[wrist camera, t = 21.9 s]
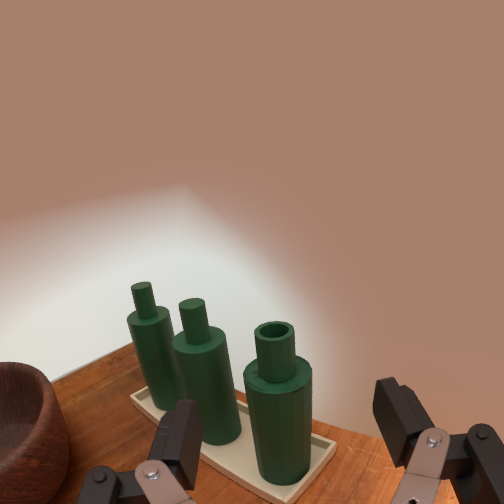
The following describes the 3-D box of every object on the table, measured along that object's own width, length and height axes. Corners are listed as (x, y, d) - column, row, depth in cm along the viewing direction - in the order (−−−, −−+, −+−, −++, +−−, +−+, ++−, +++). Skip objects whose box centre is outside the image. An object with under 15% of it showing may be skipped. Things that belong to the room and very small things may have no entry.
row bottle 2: (229, 410, 38) (206, 288, 34) (249, 434, 34) (229, 304, 29) (191, 424, 36) (157, 301, 31) (208, 452, 31) (172, 321, 26)
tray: (336, 452, 29) (337, 442, 29) (286, 510, 22) (286, 502, 22) (181, 377, 47) (178, 367, 47) (133, 405, 40) (129, 395, 40)
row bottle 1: (183, 383, 45) (157, 274, 40) (195, 403, 40) (168, 286, 35) (149, 394, 42) (116, 284, 38) (159, 416, 37) (121, 297, 33)
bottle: (290, 441, 32) (283, 307, 27) (320, 469, 27) (326, 331, 22) (249, 462, 29) (225, 328, 24) (276, 494, 24) (261, 359, 20)
